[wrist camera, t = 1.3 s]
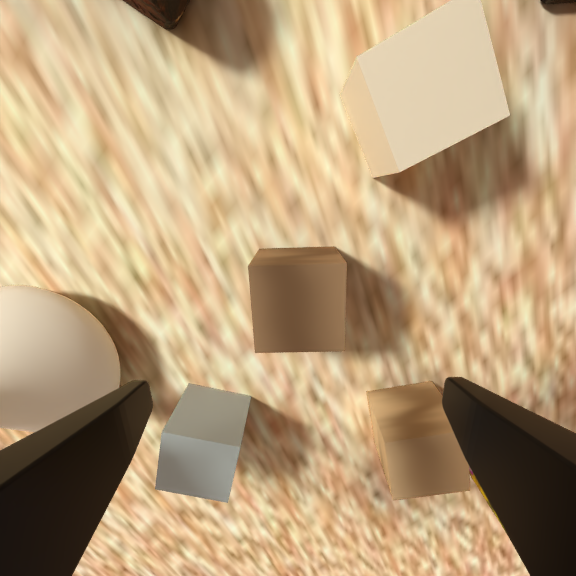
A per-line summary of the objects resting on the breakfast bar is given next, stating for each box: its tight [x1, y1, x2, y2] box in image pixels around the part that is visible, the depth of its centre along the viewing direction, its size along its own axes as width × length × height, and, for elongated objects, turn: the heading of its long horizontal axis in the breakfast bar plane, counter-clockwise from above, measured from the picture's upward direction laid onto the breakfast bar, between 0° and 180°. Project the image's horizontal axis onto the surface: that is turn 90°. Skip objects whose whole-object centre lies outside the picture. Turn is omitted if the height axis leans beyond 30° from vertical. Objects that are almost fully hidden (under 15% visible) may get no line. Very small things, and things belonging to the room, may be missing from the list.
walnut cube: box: [248, 247, 347, 353], centre depth 18 cm, size 5×5×5 cm
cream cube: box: [340, 0, 510, 178], centre depth 15 cm, size 5×5×5 cm
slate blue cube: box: [155, 383, 251, 503], centre depth 22 cm, size 5×5×5 cm
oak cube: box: [366, 381, 470, 500], centre depth 21 cm, size 5×5×5 cm
